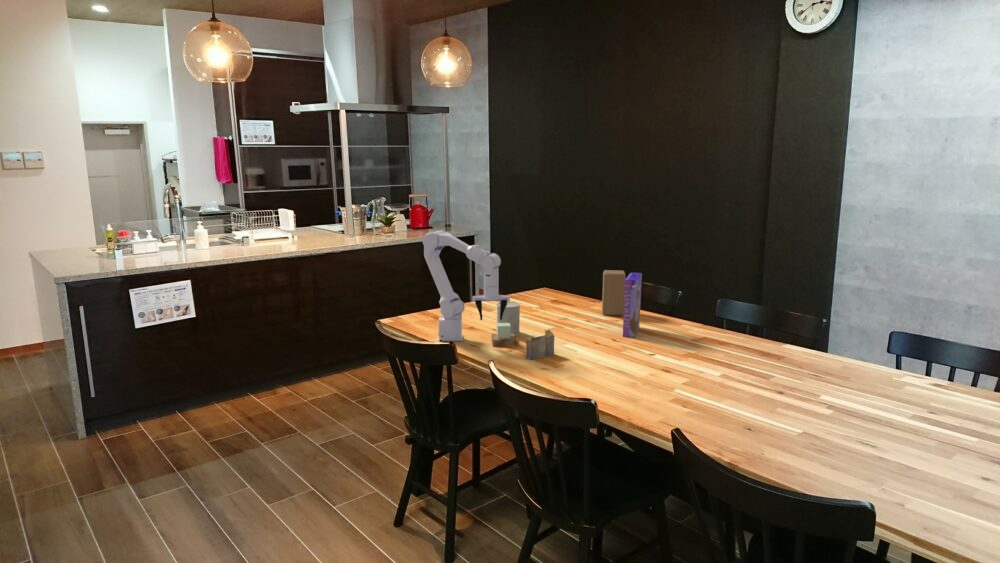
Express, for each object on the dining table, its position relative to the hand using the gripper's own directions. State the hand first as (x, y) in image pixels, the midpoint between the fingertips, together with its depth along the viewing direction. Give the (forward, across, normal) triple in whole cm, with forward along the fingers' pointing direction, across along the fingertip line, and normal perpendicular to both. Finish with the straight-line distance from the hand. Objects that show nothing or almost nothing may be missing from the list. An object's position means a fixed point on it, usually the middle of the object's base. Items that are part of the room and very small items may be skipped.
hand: (491, 319), depth 245 cm
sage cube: (+7, +5, +1) cm, 9 cm away
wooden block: (+10, +60, +46) cm, 76 cm away
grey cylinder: (+10, +8, +15) cm, 20 cm away
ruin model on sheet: (+11, +17, -17) cm, 26 cm away
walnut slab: (+10, +5, +1) cm, 11 cm away
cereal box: (+10, +60, +14) cm, 62 cm away
